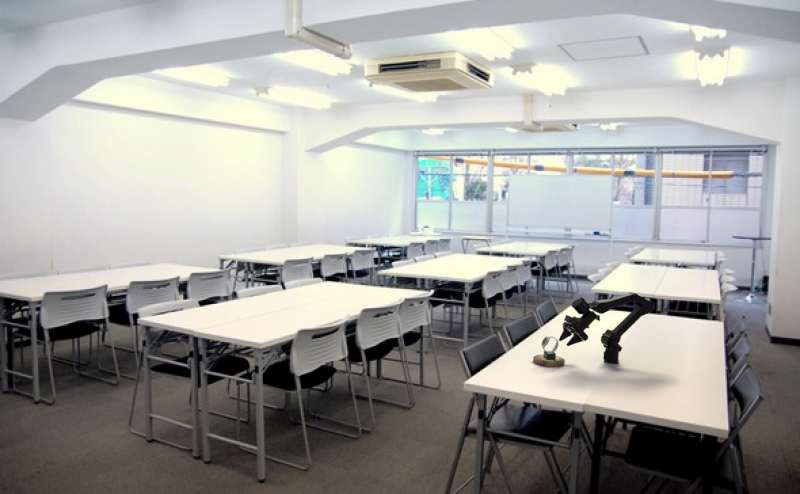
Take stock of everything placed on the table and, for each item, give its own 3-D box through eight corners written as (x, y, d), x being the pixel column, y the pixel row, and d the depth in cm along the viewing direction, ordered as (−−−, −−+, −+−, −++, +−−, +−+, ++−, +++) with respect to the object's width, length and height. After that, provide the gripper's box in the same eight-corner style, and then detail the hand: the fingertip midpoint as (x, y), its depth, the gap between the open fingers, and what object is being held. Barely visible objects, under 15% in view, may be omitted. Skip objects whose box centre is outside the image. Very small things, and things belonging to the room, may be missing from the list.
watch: (539, 356, 284) (540, 335, 283) (555, 356, 284) (556, 335, 283) (542, 359, 279) (543, 337, 278) (559, 360, 279) (560, 338, 278)
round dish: (567, 361, 285) (567, 356, 285) (561, 369, 272) (561, 364, 272) (537, 356, 292) (537, 352, 292) (529, 364, 279) (530, 359, 278)
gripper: (566, 305, 290) (545, 327, 290) (583, 313, 272) (560, 336, 271) (580, 320, 292) (559, 342, 292) (598, 329, 274) (575, 352, 273)
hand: (563, 343), depth 282 cm, fingers open, 9 cm apart
